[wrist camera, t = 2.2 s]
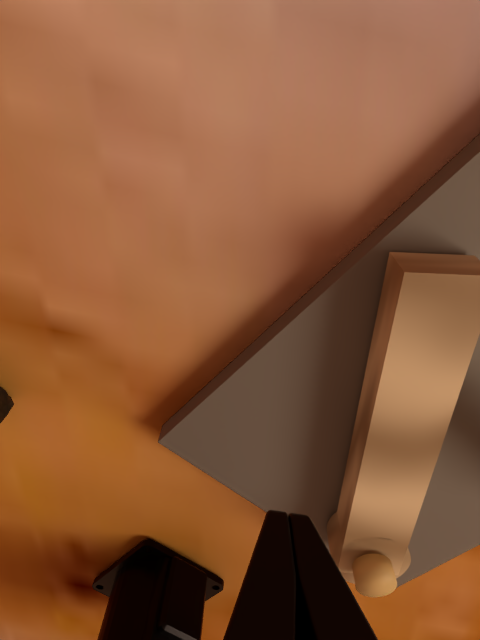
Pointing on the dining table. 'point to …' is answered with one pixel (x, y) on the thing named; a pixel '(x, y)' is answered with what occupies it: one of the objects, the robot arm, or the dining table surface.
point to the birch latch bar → (405, 403)
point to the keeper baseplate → (343, 391)
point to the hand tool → (4, 404)
